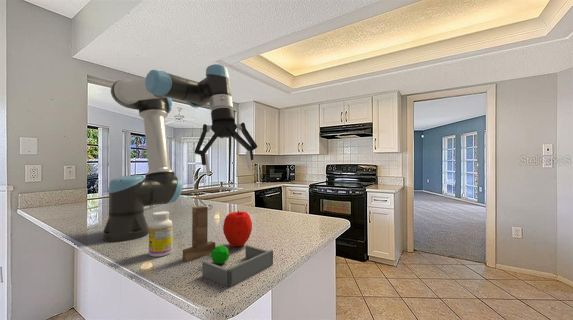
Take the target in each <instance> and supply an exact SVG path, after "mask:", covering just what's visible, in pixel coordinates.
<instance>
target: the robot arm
mask: <svg viewBox="0 0 573 320" xmlns="http://www.w3.org/2000/svg"><path fill="white" fill-rule="evenodd" d="M230 80H231V79H230V76H229V70H228V68H227V67H226V66H224V65H222V64H220V63H219V64H218V63H215V64H214V63H213V64H211V65H208V66H207V67H206V69H205V78H203V79H201V80H199V81H197V80H196V81H195V80H192V79H189V78H186V77H181V76H180V75H179V76H178V75H175V74H171V73H169V72H166V71H164V70H163V71H162V70H157V69H151V70H150V71H148V72H147V74H146V76H145V77H142V78H137V79H125V78H124V79H123V78H122V79H119V80H117V81H115V82H114V83H113V84H112V85H111V87H110V94H111V97H112V99H113V100H114V101H115V102H116V103H118V105H120V106H122V107H124V108H127V109H129V110H130V109H132V110H137V111H138V116H139V117H141V118H142V119H143V126H144V136H145V146H146V155H147V164H148V165H147V166H148V171H147V172H146V173H145V175H143V174H134V175H125V176H119V177H116V178H112V179H111V180H110V181H109V182H108V183H109V185H108V192H107V193H108V218H107V221H106V223H105V226H104V229H103V231H102V240H104V241H106V242H121V241H123V242H124V241H130V240H134V239H138V238H142V237H145V236H146V235H149V224H148V222H147V220H146V217H145V207H149V206H158V205H167V204H172V203H175V202H176V201H177V200H179V198H180V196H181V194H182V189H183V184H182V180H181V178H180V177H179V176H177V175H176V173H175V171H174V170H173V169H172V168H171V163H170V155H169V154H170V153H169V144H168V137H167V128H166V127H167V126H166V118H168V116H169V114H170V113H171V111H172V106H173V100H172V99H174V100H175V99H176V100H179V101H182V102H183V101H184V102H186V104H188V105H189V106H190V107H192V108H195V109H197V108H201V107H204V106H206V105H207V104H209V110H210V118H211V125H208V124H206V123H204V124H203V125H202V132H201V134H200V137H199V139H198V142H197V144H196V147H195V148H194V154H195V155H199V156H200V158H201V165H202V166H205V171H206V177H207V176H210V175H211V173H210V164H209V154H208V153H207V152H208V150H209V149H210V148H211V146H212V145H213V144H214V143H215V141H216V140H217V138H219V139H224V138H226V139H230V138H233V139H235V140H236V142H237V143H239V145H241V146H242V147H243V148H244V149H245V150H246V151H245V156H246V164H247V171H248V172H251V171H252V170H253V165H252V161H254V152H253V151H254V150H256V149H257V148H258V145H257V143H256V141H255V140H254V138H253V137H252V136H251V134H250V132H249V131H248V130H247V127H246V124H245V122H241V123H238V124H237V123H236V120H235V111H234V110H233V109H234V106H233V97H232V89H231V83H230V82H231V81H230ZM210 130H211V131H212V133H214V134H213V135H212V137H211V138H210V139H209V140H208V141H207V143H206V144H205V145H204V147H203V148H202V145H203V143H204V140H205V138H206V136H207V133H209V132H210ZM236 130H239V131H241V134H242V135H243V136H244V138H245V139H244V138H242V136H241V135H239V133H238V132H237V131H236ZM201 148H202V150H201Z"/></svg>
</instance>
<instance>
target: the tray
mask: <svg viewBox="0 0 573 320" xmlns="http://www.w3.org/2000/svg"><path fill="white" fill-rule="evenodd" d="M245 258H246V259H247V260H245V261H242V262H240V263H237V264H236V265H235V264H234V265H233V266H231V267H228V268H226V267H223V266H220V265H219V264H216V263H212V262H210V261H206V260H204V261H202V277H204V278H207V279H209V280H212V281H214V282H217V284H218V283H219V284H221V285H222V286H223V285H224V286H226V287H228V288H231V287H233V286H235V285H237V284H238V283H240V282H242V281H245V280H246V279H248V278H250V277H252V276H254V275H255V274H258V273H260V272H261V271H263V270H265V269H267V268H269V267H271V266H273V265H274V250H273V249H269V250H267V249H264V248H259V247H257V246H256V247H255V246H252V245H249V244H247V245H245Z"/></svg>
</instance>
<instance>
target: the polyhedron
mask: <svg viewBox="0 0 573 320" xmlns="http://www.w3.org/2000/svg"><path fill="white" fill-rule="evenodd" d="M210 256H211V260H212V262H214V264H215V265H222V264H224V263H225V262H226V261H227V260H229V256H230V252H229V248H227V247H226V245H225V246H224V245H221V244H220V245H216V246H215V249H213V250H212V253H211V254H210Z"/></svg>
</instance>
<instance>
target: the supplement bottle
mask: <svg viewBox="0 0 573 320" xmlns="http://www.w3.org/2000/svg"><path fill="white" fill-rule="evenodd" d="M169 217H170V212H169V211H164V210H163V211H157V212H153V213H152V219H153V220H152V221H150V223H149V224H148V228H149V229H148V255H149V256H150V257H153V258H157V257H158V258H159V257H165V256H167V255H170V254H171V253H172V252H173V221H172V220H171V219H169Z"/></svg>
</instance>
